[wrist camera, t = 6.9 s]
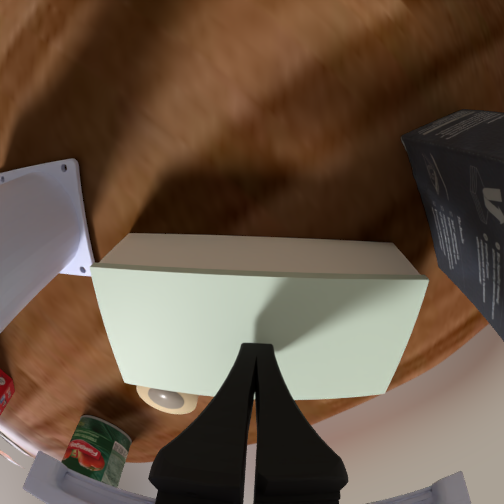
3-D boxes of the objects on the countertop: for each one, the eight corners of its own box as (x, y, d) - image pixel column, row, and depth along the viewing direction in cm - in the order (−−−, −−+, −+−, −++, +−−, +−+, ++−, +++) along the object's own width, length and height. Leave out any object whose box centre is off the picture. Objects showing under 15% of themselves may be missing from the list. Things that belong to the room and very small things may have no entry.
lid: (127, 377, 16) (124, 382, 15) (94, 262, 12) (89, 266, 12) (382, 388, 15) (384, 393, 15) (424, 274, 12) (429, 279, 11)
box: (490, 232, 15) (575, 304, 7) (435, 267, 16) (512, 363, 8) (462, 106, 12) (584, 125, 3) (395, 135, 13) (524, 170, 5)
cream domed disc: (152, 389, 23) (144, 409, 21) (139, 352, 21) (129, 374, 19) (204, 396, 23) (199, 418, 21) (198, 360, 21) (191, 384, 19)
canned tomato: (113, 445, 32) (94, 501, 22) (72, 416, 29) (46, 474, 19) (143, 443, 30) (124, 509, 20) (97, 411, 27) (68, 482, 17)
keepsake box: (149, 333, 20) (131, 371, 16) (129, 233, 16) (97, 263, 13) (364, 341, 19) (378, 382, 16) (392, 242, 16) (421, 275, 12)
